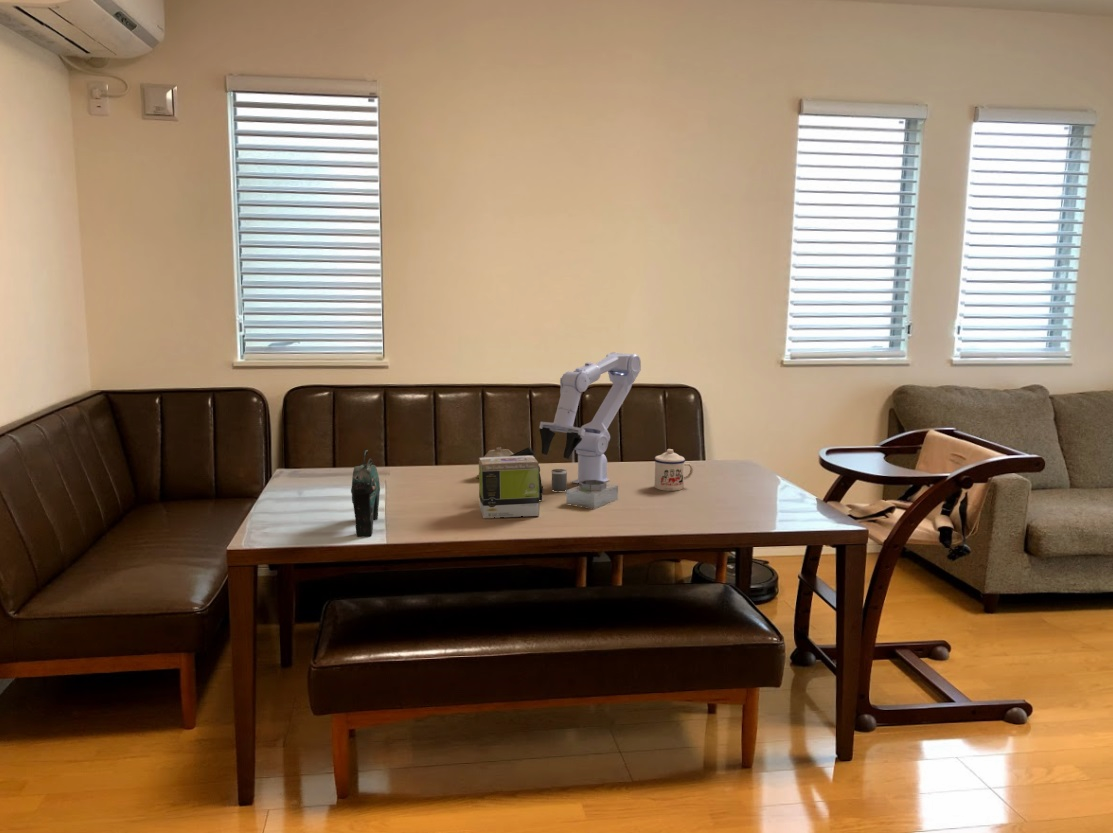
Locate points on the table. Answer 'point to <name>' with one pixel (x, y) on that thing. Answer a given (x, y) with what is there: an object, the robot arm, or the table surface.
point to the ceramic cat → (365, 497)
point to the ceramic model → (498, 453)
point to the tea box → (509, 486)
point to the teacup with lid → (670, 471)
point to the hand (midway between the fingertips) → (555, 456)
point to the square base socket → (592, 494)
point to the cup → (559, 479)
